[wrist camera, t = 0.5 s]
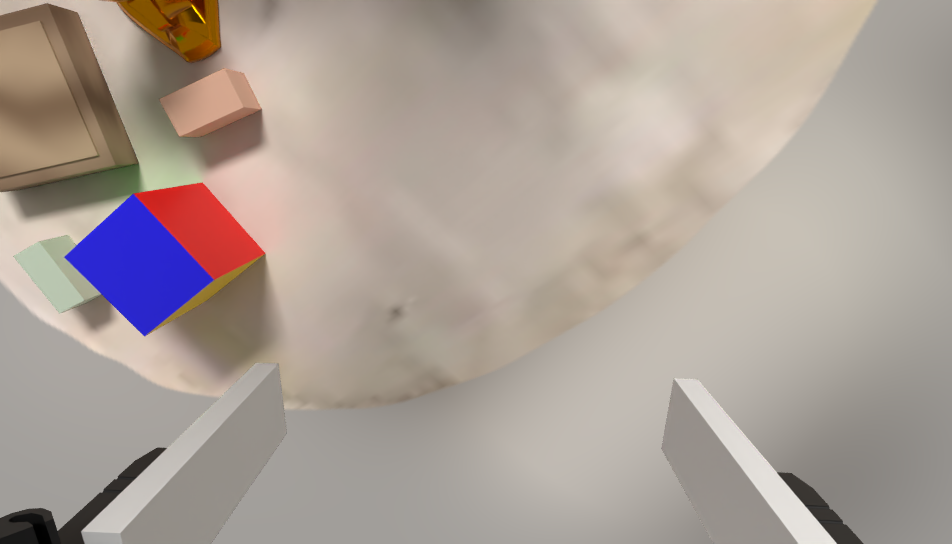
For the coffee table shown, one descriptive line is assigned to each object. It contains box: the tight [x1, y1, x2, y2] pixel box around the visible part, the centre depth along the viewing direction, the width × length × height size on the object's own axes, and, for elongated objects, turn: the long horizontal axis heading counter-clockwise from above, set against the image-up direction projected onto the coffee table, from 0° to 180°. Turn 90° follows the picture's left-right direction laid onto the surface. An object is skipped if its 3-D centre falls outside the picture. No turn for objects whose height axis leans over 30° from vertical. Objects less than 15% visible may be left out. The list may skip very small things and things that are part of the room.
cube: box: [64, 183, 265, 336], centre depth 37 cm, size 8×8×8 cm
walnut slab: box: [0, 3, 138, 192], centre depth 36 cm, size 12×12×3 cm
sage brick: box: [13, 235, 102, 314], centre depth 41 cm, size 6×3×3 cm, turn 26°
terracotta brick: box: [159, 68, 261, 137], centre depth 36 cm, size 6×3×3 cm, turn 112°
